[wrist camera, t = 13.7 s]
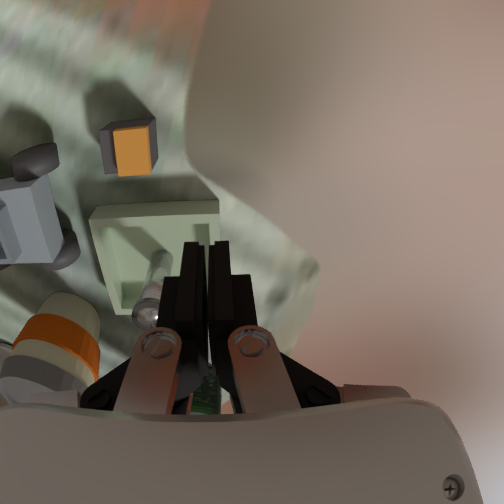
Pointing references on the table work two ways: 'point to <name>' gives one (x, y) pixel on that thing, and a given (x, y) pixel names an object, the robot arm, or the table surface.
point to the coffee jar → (207, 396)
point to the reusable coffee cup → (54, 350)
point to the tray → (147, 241)
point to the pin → (152, 290)
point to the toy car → (33, 214)
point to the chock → (129, 147)
